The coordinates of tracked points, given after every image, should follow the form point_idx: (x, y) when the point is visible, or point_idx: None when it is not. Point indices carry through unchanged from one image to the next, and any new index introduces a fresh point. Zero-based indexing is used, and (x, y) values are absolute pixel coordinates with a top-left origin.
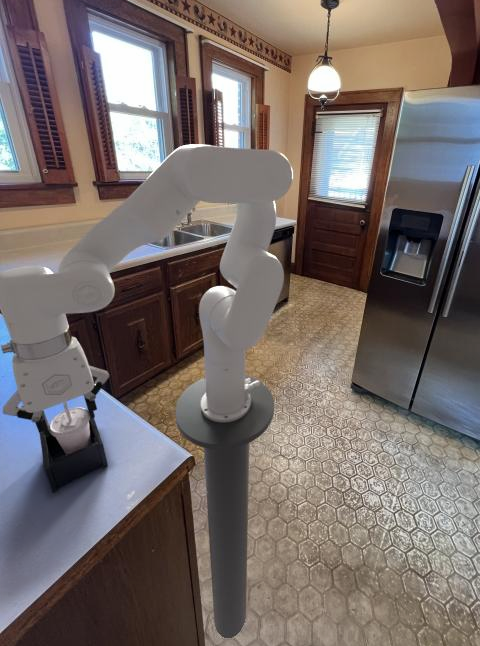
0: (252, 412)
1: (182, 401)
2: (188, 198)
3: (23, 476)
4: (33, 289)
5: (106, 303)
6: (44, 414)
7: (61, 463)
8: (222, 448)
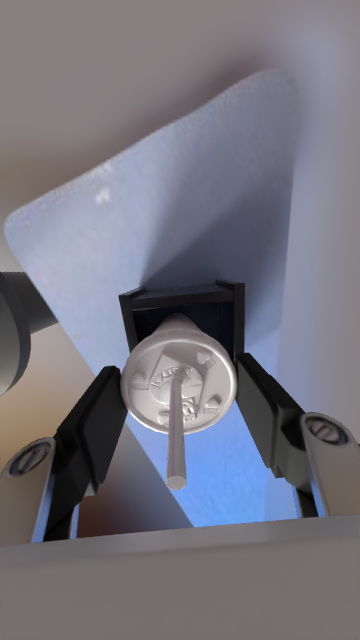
0: None
1: (4, 372)
2: None
3: (258, 337)
4: None
5: None
6: (264, 444)
7: (209, 290)
8: None
